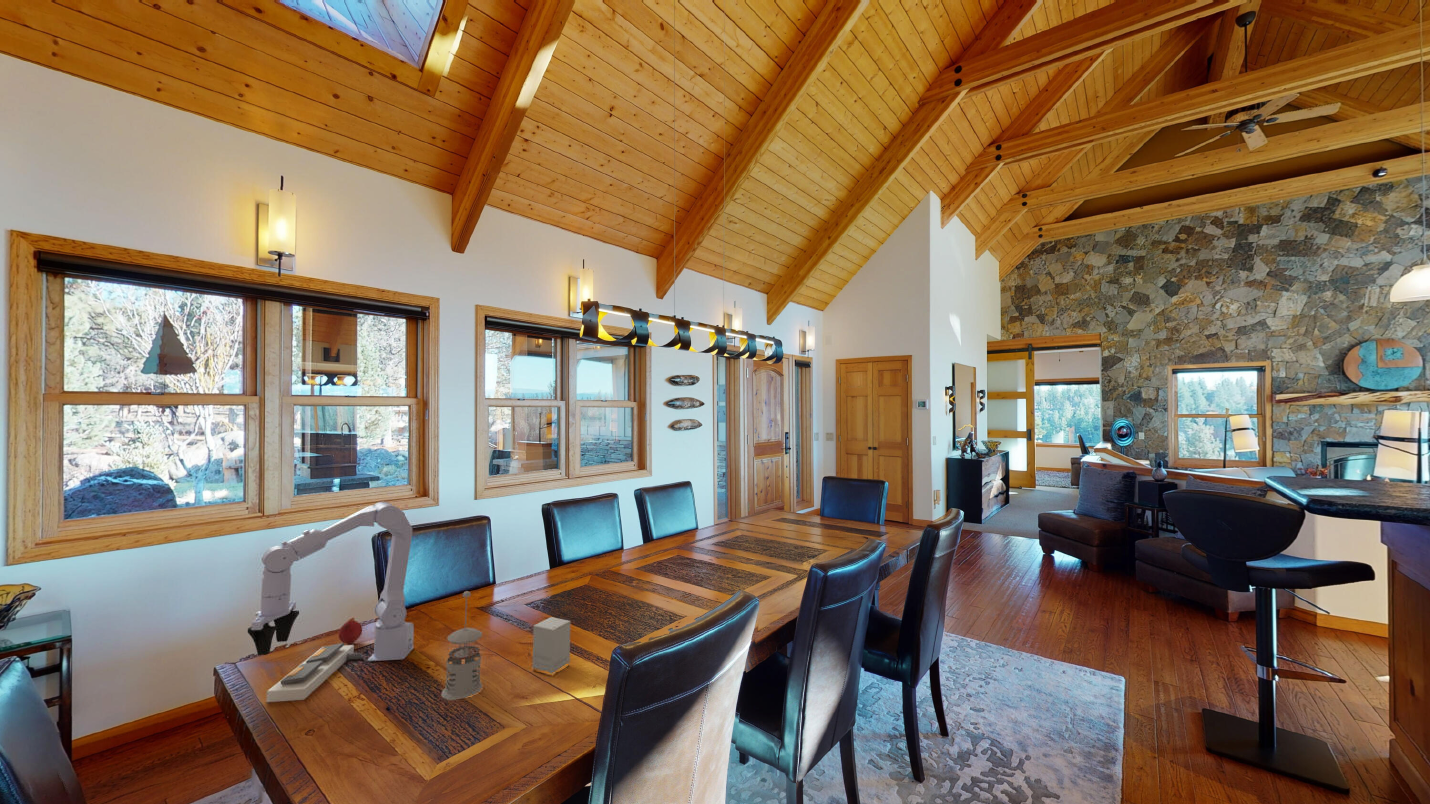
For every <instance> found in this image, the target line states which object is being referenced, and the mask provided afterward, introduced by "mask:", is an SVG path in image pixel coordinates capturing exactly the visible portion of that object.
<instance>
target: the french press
mask: <svg viewBox="0 0 1430 804" xmlns="http://www.w3.org/2000/svg"><path fill="white" fill-rule="evenodd" d="M462 593H463V594H462V598H465V611H464V612H465V615H464V616H465V618H464V628H460V629H458V630H455V631H453V632H451V634H449V635H447V638H446V639H447V640H448V642H449V643H451V644H453V645H458V647H457V648H454V649H452V650H451V651H449V653H448V656H449V657H448V658H447V660H446V669H445V670H446V675H445V688H443V690H442V691H441V693H442V694H440V695H441V697H442V698H443V699H444V698H445V699H444V700H446V701H454V700H455V699H460V698H466V697H468V696H471V695H474V694H476V693H478V692H479V691H480V690H481V688H482V684H483V683H482V681H481V677H480V676H481V663H482V661H481V660H482V659H481V658H482V655H481V653H480V648H479V647H477V646H475V645H473V646H472V645H468V644H470V643H473V642H476V641H478V640H479V639H481V638H482V636H483V632H482V631H481V630H479V629H476V628H472V627H467V609H468V597H471V595H472V593H471V592H470V591H468V590H466V591H464V592H462ZM462 645H463V646H462ZM475 658H478V659H475ZM462 660H464V664H462ZM481 683H482V684H481ZM455 701H456V700H455Z"/></svg>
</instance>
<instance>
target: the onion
mask: <svg viewBox="0 0 1430 804" xmlns="http://www.w3.org/2000/svg"><path fill="white" fill-rule="evenodd" d="M362 634H363V627H362V625H361V623H360V622H359V621H357V620H355V617H350V618H349V619H348V620H347V621H346V622H345V623H344V624H343V625H342V626H341V627H340V629H339V631H338V638H339V640H340V642H341V643H344V645H354V643H355V642H356V641H358V639H359V638H360V637H361V636H362Z"/></svg>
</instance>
